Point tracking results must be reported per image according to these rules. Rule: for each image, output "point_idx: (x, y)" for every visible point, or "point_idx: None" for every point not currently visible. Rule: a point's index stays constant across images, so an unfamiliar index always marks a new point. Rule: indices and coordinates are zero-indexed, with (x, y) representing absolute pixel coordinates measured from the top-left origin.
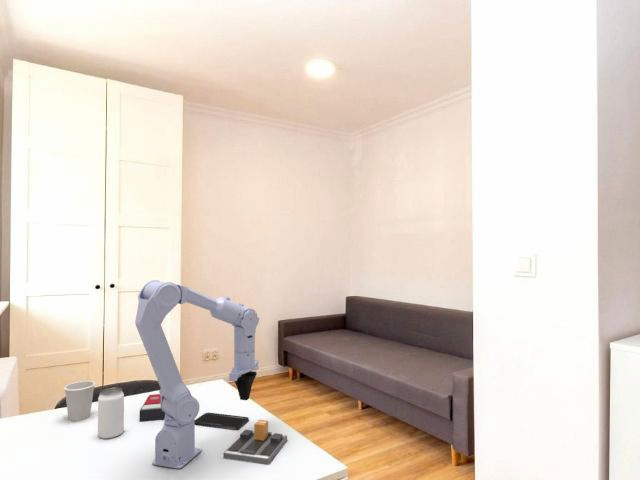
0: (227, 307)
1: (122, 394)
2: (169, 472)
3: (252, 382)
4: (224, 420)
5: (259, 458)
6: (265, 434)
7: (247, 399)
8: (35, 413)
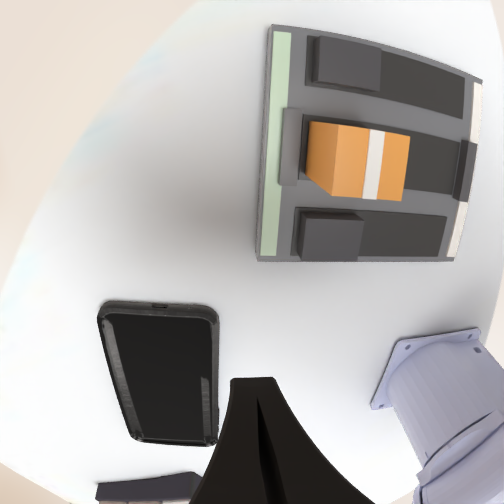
0: None
1: None
2: (481, 339)
3: (214, 497)
4: (162, 383)
5: (479, 115)
6: (353, 126)
7: (265, 379)
8: None
